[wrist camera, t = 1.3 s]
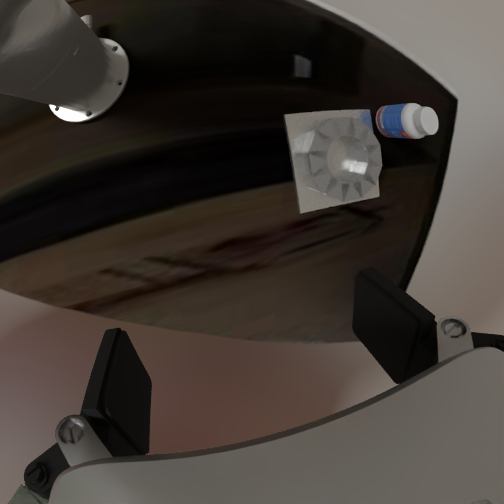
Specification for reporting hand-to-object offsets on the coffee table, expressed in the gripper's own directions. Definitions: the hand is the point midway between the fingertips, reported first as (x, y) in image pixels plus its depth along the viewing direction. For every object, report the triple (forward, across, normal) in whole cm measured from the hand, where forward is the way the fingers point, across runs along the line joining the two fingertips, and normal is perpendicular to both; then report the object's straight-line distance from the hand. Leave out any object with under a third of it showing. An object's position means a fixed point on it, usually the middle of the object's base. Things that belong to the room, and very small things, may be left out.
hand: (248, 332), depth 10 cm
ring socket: (+28, -19, -3) cm, 34 cm away
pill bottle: (+28, -30, -8) cm, 42 cm away
